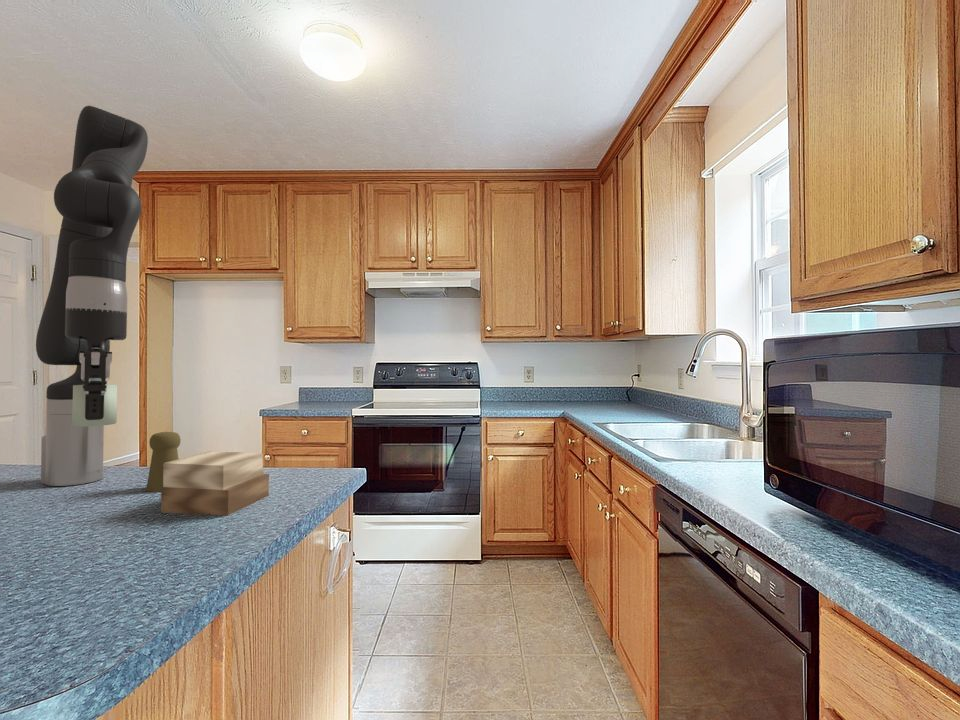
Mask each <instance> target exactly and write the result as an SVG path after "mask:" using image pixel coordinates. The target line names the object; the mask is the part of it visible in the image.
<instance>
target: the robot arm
mask: <svg viewBox="0 0 960 720" xmlns="http://www.w3.org/2000/svg"><path fill="white" fill-rule="evenodd" d="M148 144H149V135H148V133H147V130H146V128H145V127H143V125H141V124H139V123H137V122H135V121H133V120H131V119H128V118H125V117H123V116H120V115H118V114H115V113H112V112H110V111H107V110H104V109H102V108H99V107H96V106H94V105H93V106H92V105H86V106H84V107H83V108H82V109H81V111H80V112H79V115H78V118H77V124H76V131H75V138H74V146H73V156H72V165H71V171H69V172H67V173H66V174H64V175H63V176H62V177H61V178H60V179H59V181H58V182H57V184H56V186H55V187H54V191H53V201H54V206H55V209H56V210H57V211H58V213H59V214H60V215H61V216H62V221H61V225H60V230H59V235H58V240H57V241H58V242H57V247H56V248H57V249H56V254H55V261H54V262H55V263H54V266H53V267H54V268H53V273H52V279H51V283H50V287H49V291H48V295H47V299H46V301H45V305H44V308H43V311H42V315H41V319H40V321H39V324H38V328H37V332H36V337H35V339H36V340H35V351H36V354H37V355H36V356H37V358H38V359H39V360H40V361H41V363H43V364H46V365H49V366H76V367H75V371H74V372H73V374H71V375H69V376H68V377H67V378H65V379H62V380H58V381H56V382H53V383H50V384H49V385H48V386H47V387H46V395H45V396H46V407H45V408H46V409H45V410H46V412H45V414H46V415H45V417H46V419H45V420H46V421H45V435H43V436H41V441H40V442H41V444H40V445H41V449H40V450H41V453H40V456H41V457H40V461H41V462H40V484H44V485H46V486H49V487H50V486H51V487H63V486H64V487H65V486H75V485H81V484H87V483H92V482H93V483H94V482H96V481H99V480H103V478H104V444H105V443H104V442H105V441H104V440H105V439H104V437H105V435H104V434H105V432H104V431H105V425H102V426H73V425H72V410H73V385H83V393H84V392H85V395H86V397H85V419H87V420H100V419H102V418H103V417H104V395H103V394H105V392H106V389H107V385H108V384H107V383H108V381H109V380H110V377H111V375H110V374H111V373H110V372H111V371H110V370H111V364H112V361H113V351H110V348H111V347H110V346H111V341H124V340H126V339H127V334H128V333H127V332H128V331H127V330H128V329H127V328H128V327H127V326H128V292H127V282H126V281H127V258H128V257H127V256H128V250H129V247H130V243H131V239H132V237H133V234H134V232H135V229H136V227H137V224H138V222H139V219H140V216H141V213H142V208H143V207H142V206H143V205H142V200H141V198H140V196H139V194H138V192H137V191H136V190H135V189H134V188H132V185H133V179H134V177H135V176H136V174H137V173H138V172H139V171H140V169H141V167H142V166H143V164H144V161H145V159H146V155H147V150H148ZM105 384H106V385H105ZM105 388H106V389H105Z"/></svg>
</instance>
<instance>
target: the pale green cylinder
mask: <svg viewBox="0 0 960 720" xmlns="http://www.w3.org/2000/svg"><path fill="white" fill-rule="evenodd" d="M105 385H107V389H106V388H105V389H106V392H105V394H103V395H104V417H103V418H102V419H100V420H87V419H85V397H86V395H85V392H84V393H83V385H73V410H72V425H73V426H102V425H104V426H110V425H116V424H117V420H118V419H117V416H118V414H117V412H118V385H117V384H105Z"/></svg>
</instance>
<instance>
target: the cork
mask: <svg viewBox="0 0 960 720" xmlns="http://www.w3.org/2000/svg"><path fill="white" fill-rule="evenodd" d="M179 446H181V436H180V434H179V433H178V432H174V431H162V432H157V433H154V434H152V435H151V437H150V438H149V447H150V449H151V450H152V453H151V459H150V465H149V466H150V467H149V471H148V477H147V484H146V488H145V489H146V492H149V493H161V488H162V487H163V463H166V462H170V461H174V460H178V459H179V454H178V448H179Z"/></svg>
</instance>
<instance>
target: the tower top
mask: <svg viewBox="0 0 960 720" xmlns="http://www.w3.org/2000/svg"><path fill="white" fill-rule="evenodd" d="M263 474H264V453H263V452H262V453H261V452H238V451H237V452H234V451H213V450H212V451H211V450H209V451H206V452H202V453H201V452H200V453H198V454H193V455H190V456H185V457H182V458H178V460H174V461H170V462H166V463H163V487H171V488H191V489H211V490H225V489H227V488H230V487H233V486H235V485H238V484H240V483H243V482H246V481H248V480H251V479H253V478H256V477H258V476H261V475H263Z"/></svg>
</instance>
